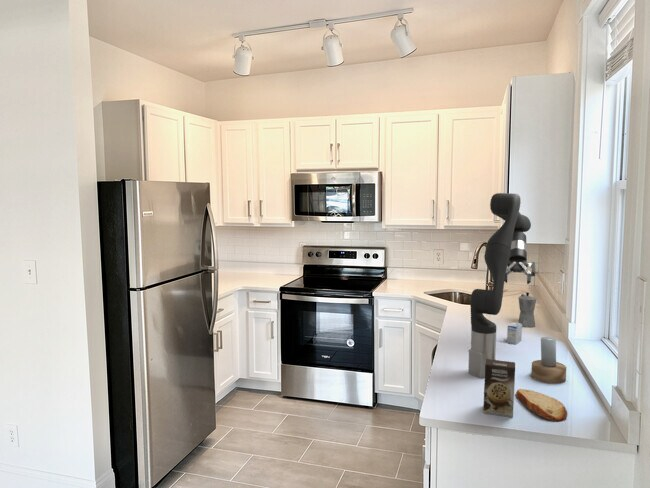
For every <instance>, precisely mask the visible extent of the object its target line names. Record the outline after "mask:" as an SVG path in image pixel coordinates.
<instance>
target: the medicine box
mask: <svg viewBox="0 0 650 488" xmlns="http://www.w3.org/2000/svg"><path fill="white" fill-rule="evenodd" d="M522 335H523V327H522V324H521V323H518V322H514V321H513V322H511V323H509V324H508V325H507V332H506V344H511V345H518V344H519V343H520V342H521V341H522V339H523V338H522Z"/></svg>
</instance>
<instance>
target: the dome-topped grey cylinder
mask: <svg viewBox="0 0 650 488" xmlns="http://www.w3.org/2000/svg"><path fill="white" fill-rule="evenodd" d="M540 360H541V364H542V365H543V366H549V367H553V366H556V362H557V339H556V338H555V337H551V336H550V337H549V336H543V337H540Z"/></svg>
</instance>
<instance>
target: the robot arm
mask: <svg viewBox="0 0 650 488" xmlns="http://www.w3.org/2000/svg"><path fill="white" fill-rule="evenodd" d="M521 204H522V203H521V197H520V194H518V193H510V192H509V193H508V192H507V193H506V192H503V193H502V192H499V193H498V192H497V193H494V194H493V195H492V196H491V199H490V201H489V207H490V212H491V213H492V214H493V215H494V216H496V217H499V219H502V220H503V221H504V222H503V224H502V225H501V227H499V229H497V230H496V231H495V232H494V233H493V234H492V235H491V236H490V237H489V239H488V241H487V243H486V246H485V251H484V256H483V257H484V262H485V264H486V267H487V269H488V271H489V272H490V276H491V279H492V282H493V283H492V290H491V289H484V288H475V289H473V290H472V292H471V296H470V302H469V303H470V325H471V327H470V329H471V331H470V332H471V333H470V334H471V335H470V349H469V350H468V372H467V373H468V374H469V375H472V376H474V377H477V378H479V379H485V362H486V359H491V360H496V358H497V356H496V354H497V353H496V352H497V351H496V350H497V324H496V323H495V322H493V321H491V320H490V319H488V318H487V317H485V315H490V316H491V315H493V316H497V315H498V314H499V313H500V312H501V308H502V302H503V298H504V297H503V295H504V289H505V288H504V287H505V284H506V283H507V284H508V275H510V274H511V273H512V272H513V273H523V274H524V275H525V276H526V285H530V283H531V282H532V281H531V280H532V277H536V272H537V271H536V263H535V262H534V261H531V262H528V259H527V258H528V248H527V235H526V232H527V233H528V231H530V229H531V228H532V222H531V219H530V218H529V217H528V216H526V215H524V214H521V212H520V210H521V209H520V208H521ZM528 268H529V269H531V271H530V270H529V269H528ZM484 314H485V315H484Z"/></svg>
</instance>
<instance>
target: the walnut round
mask: <svg viewBox="0 0 650 488" xmlns="http://www.w3.org/2000/svg"><path fill="white" fill-rule="evenodd" d="M530 372H531V373H530V375H531V378H533V379H535V380H536V381H539V382H542V383H546V384H563V383H565V382H566V381H567V366H566V365H565V364H564V363H560V362H558V361H556V366H553V367H549V366H543V365H542V364H541V359H536V360H533V361H531V370H530Z"/></svg>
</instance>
